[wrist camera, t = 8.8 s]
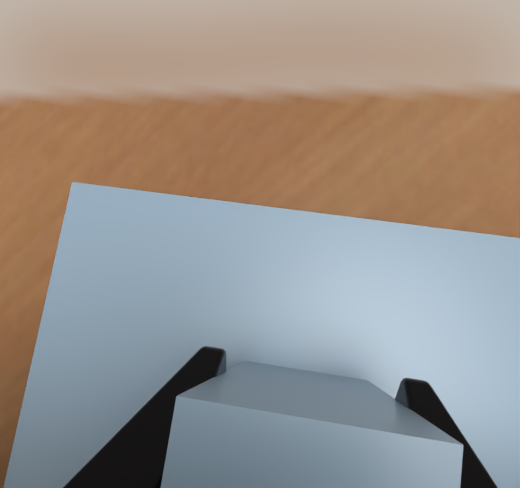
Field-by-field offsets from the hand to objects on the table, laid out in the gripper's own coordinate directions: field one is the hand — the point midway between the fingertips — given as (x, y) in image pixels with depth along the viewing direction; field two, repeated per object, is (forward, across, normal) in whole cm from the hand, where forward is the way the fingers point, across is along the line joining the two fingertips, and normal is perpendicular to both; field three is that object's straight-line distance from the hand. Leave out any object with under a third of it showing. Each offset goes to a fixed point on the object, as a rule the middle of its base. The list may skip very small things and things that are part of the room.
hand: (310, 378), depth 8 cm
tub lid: (+2, 0, +4) cm, 5 cm away
